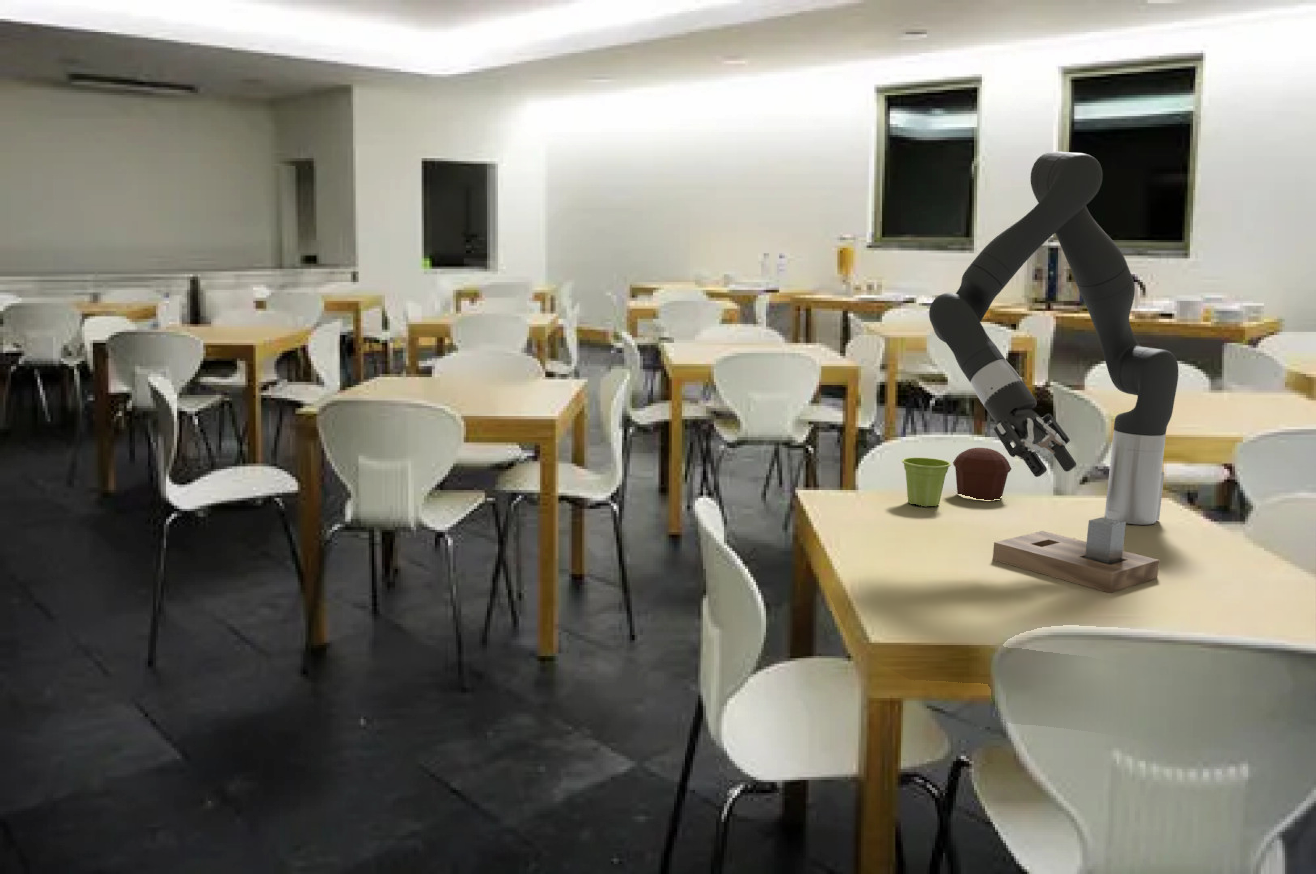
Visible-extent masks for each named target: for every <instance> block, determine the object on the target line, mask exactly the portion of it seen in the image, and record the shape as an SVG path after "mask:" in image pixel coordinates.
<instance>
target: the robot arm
mask: <svg viewBox="0 0 1316 874" xmlns="http://www.w3.org/2000/svg"><path fill="white" fill-rule="evenodd" d="M1102 183H1103V169H1102V166H1101V163H1100V162H1099V161H1098V159H1097V158H1095V157H1094V156H1092V155H1090V154H1087V153H1083V152H1069V151H1051V152H1050V151H1049V152H1046V153H1043V154H1042V155H1040V156H1039V157H1038V158H1037V159H1036V160H1035V162H1034V163H1033V165H1032V167H1031V171H1030V185H1031V186H1030V187H1031V189H1032V192H1033V193H1032V194H1034V197H1035V199H1036V201H1037V204H1036V205H1035V207H1033V208H1032V209H1031V210H1030V211H1028V213H1027V214H1025V216H1023V217H1022V218H1020V219H1019V220H1018V221H1016V222H1015V223H1014V224H1012V225H1011V226H1008V228H1007V229H1005V230H1004V231H1002V232H1000V233H999V234H998V235H996V236H995V238H993V239H992V240H991V241H990V242H989V243H988V244H987V245H986V246H985V247H984V248H983V249H982V250H981V251H980V253H979V254H978V255H977V256H976V257H975V258H974V260H973V261H972V262H971V263H970V265H969V266H968V267H967V268H966V269H965V271H964V273H963V275H962V277H961V283H960V286H959V288H958V290H957V291H956V293H954V292H953V293H952V292H946V293H942V294H940V295H938V296H936V297H935V299H933V300H932V302H931V303H930V306H929V309H928V311H929V312H928V316H929V321H930V324H931V326H932V328H933V331H934V333H935V335H936V337H937V338H938V339H939V340H940V341H942V342H943V343H945V344H946V345H947V346H948V348H949V349H950V351H951V352H952V354H953V356H954V359H955V360H956V362H957V364H958V367H959V368H960V370H961V371H962V373H963V374H964V376H965V377H966V378H967V381H968V382H969V383H970V385H971V387H972V388H973V391H974V392H975V393H974V394H975V395H976V396H977V398H978V399H979V401H980V403H981V404H982V405H983V407H984V408H985V410H986V411H987V412H988V414H989V415H990V418H991V419H993V421H994V423H995V424H996V425H995V426H994V427H993V430H994V432H995V434H996V435H997V438H998V439H999V440H1000V442H1001V443H1002V445H1003V446H1004V449H1005V450H1006V451H1007V453H1008V455H1009V456H1010V457H1012V458H1015V457H1016V456H1017V458H1018V459H1019V460H1023V461H1024V463H1025V464H1026V465H1027V468H1028V469H1029V470H1030V472H1031V473H1032V475H1033V476H1034V477H1035V478H1038V477H1041V476H1042V475H1044V474H1045V473H1046V472H1047V470H1048V469H1047V467H1046V465H1045V464H1044V462H1043V461H1042V459H1041V458H1040V456H1039V454H1038V453H1037V452H1036V451H1035V450H1034V445H1037V446H1038V447H1039V448H1046V449H1047V450H1048V451H1049V452H1050V453H1052V455H1053V457H1054V458H1055V460H1056V461H1057V462H1058V464H1059V465H1060V467H1061V468H1062V470H1063V471H1064V472H1065V473H1066V472H1071V470H1073V469H1074V468H1076V467H1077V462H1076V460H1074V457H1073V456H1072V455H1071V454H1070V452H1069V451H1068V450H1067V448H1066V446H1067V444H1068V443H1070V438H1069V437H1068V435H1067V434H1066V432H1065V431H1064V429H1062V427H1061V426H1060V425H1059V423H1058V422H1057V420H1056V419H1055V418H1054V417H1053V415H1052V414H1051V413H1049V412H1048V413H1047V414H1045V415H1044V416H1043V417H1041V416H1040V415H1039V414H1038V413H1037V412H1036V406H1037V404H1038V403H1037V399H1036V398H1035V396H1034V395H1033V394H1032V391H1030V389H1029V387H1028V386H1027V385H1026V383H1025V382H1024V381H1023V379H1022V378H1021V377H1020V374H1018V372H1017V371H1016V369H1014V367H1013V366H1012V365H1011V364H1010V363H1009V362H1008V360H1006V358H1005V357H1004V355H1003V354H1002V353H1001V351H1000V349H999V348H998V346H997V345H996V344H995V342H994V341H992V339H991V338H990V336H989V335H988V334H987V332H986V329H985V328H984V326H983V325H982V323H981V322H982V320H983V319H984V317H985V315H986V314H987V313H988V310H989V308H990V307H991V305H992V303H993V302H994V300H995V298H996V297H997V296H998V295H1000V292H1001V291H1002V290H1004V288H1005V287H1006V286H1007V284H1008V283H1009V282H1010V281H1011V279H1013V277H1014V276H1015V274H1016V273H1018V271H1019V270H1020V269H1021V267H1023V266H1024V264H1025V263H1026V262H1028V260H1029V259H1030V258H1031V256H1033V255H1034V253H1036V251H1037V250H1039V249H1040V247H1042V246H1043V244H1045V243H1046V241H1048V240H1049V239H1050V238H1051V237H1053V235H1054V234H1055V235H1056V238H1057V239H1058V243H1059V245H1060V248H1061V250H1062V252H1063V254H1064V257H1065V259H1066V261H1067V264H1068V267H1069V268H1070V271H1071V273H1072V276H1073V279H1074V281H1075V284H1076V287H1077V289H1078V291H1079V294H1080V296H1081V298H1082V300H1083V303H1084V304H1085V306H1086V309H1087V311H1088V314H1089V316H1090V319H1091V321H1092V324H1093V327H1094V329H1095V332H1096V335H1097V337H1098V340H1099V344H1100V346H1101V350H1102V355H1103V358H1104V362H1105V364H1106V368H1107V372H1108V375H1109V377H1110V379H1111V382H1112V384H1113V385H1114V387H1115V388H1116V389H1117V390H1118V391H1120V392H1122V393H1125V394H1128V395H1133V396H1137V398H1136V402H1135V406H1134V407H1133V408H1132V409H1131V410H1128V411H1126V412H1121V413H1118V414H1117V415H1116V416H1115V418H1114V424H1113V434H1112V443H1111V453H1110V460H1109V461H1110V462H1109V473H1108V483H1107V491H1106V493H1107V494H1106V501H1105V509H1104V511H1105V512H1104V518H1108V519H1112V520H1117V521H1121V522H1126V524H1131V525H1139V526H1140V525H1153V524H1156V523H1157V521H1160V516H1161V515H1160V514H1161V509H1162V508H1161V507H1162V498H1163V488H1164V479H1165V472H1164V471H1163V464H1164V463H1163V461H1164V454H1165V446H1166V445H1165V444H1166V437H1167V435H1166V434H1167V428H1168V425H1169V423H1170V421H1171V419H1172V417H1173V416H1172V415H1173V413H1174V412H1173V411H1174V405H1175V399H1176V394H1177V387H1178V381H1179V365H1178V364H1179V363H1178V360H1177V357H1176V356H1175V355H1174V353H1172V352H1171V351H1169V350H1166V349H1162V348H1154V347H1147V346H1141V345H1140V344H1139V343H1138V341H1137V339H1136V337H1135V335H1134V332H1133V330H1132V327H1131V323H1130V315H1131V311H1132V307H1133V304H1134V299H1135V293H1136V286H1135V281H1134V278H1133V276H1132V275H1133V274H1132V273H1131V270H1130V268H1129V266H1128V262H1127V260H1126V258H1125V256H1124V254H1123V253H1122V251H1121V249H1120V248H1119V246H1118V245H1117V244H1116V243H1115V241H1114V240H1113V239H1112V238H1111V237H1110V236H1109V234H1107V233H1106V232H1105V231H1104V230H1103V228H1102V227H1101V226H1100V225H1099V224H1098V222H1097V221H1096V220H1095V219H1094V218H1093V215H1091V213H1090V211H1089V209H1088V207H1087V205H1088V204H1089V203H1090V202H1091V201H1092V200H1093V199H1094V198H1095V197H1096V195H1097V194H1098V192H1099V190H1100V189H1101V186H1102ZM1057 434H1058V435H1057ZM1012 442H1013V446H1012V444H1011V443H1012Z"/></svg>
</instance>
